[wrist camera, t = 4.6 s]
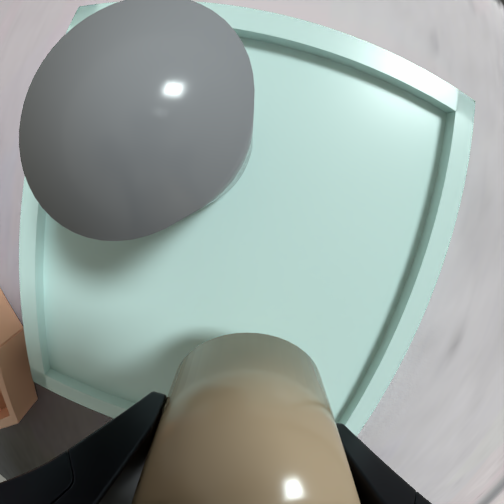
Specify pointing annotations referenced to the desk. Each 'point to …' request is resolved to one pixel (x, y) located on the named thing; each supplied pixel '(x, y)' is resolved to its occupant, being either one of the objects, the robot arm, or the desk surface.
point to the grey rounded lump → (138, 119)
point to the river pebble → (246, 430)
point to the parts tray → (270, 233)
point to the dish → (13, 368)
